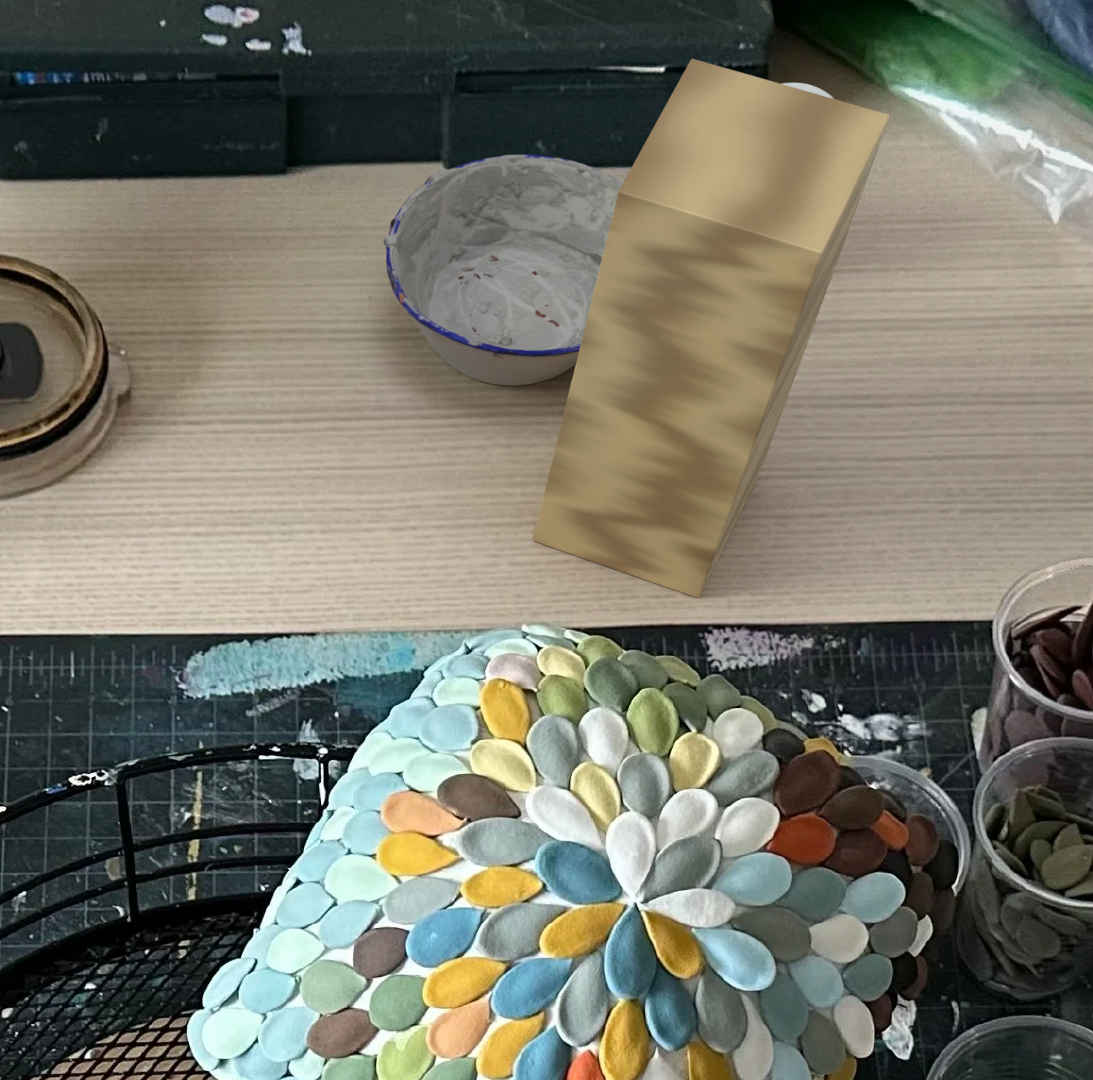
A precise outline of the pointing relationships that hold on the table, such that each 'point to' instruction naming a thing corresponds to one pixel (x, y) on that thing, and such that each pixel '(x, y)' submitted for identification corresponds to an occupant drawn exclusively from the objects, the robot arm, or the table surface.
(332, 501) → the table surface
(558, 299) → the bowl
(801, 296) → the stand
